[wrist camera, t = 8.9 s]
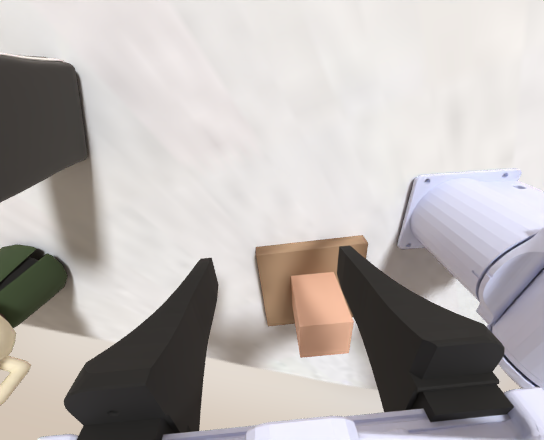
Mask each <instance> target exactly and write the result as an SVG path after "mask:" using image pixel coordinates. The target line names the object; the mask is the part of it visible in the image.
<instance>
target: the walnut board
mask: <svg viewBox="0 0 544 440" xmlns="http://www.w3.org/2000/svg"><path fill="white" fill-rule="evenodd" d="M349 245H350V246H351V247H352V248H354V249H355V250H356V251H357V252H358V253H359V254H361V255H362V256H363V257H364V258H365V259H366V255H367V247H368V242H367V241H366V239H365V238H364V237H363V235H361V236H352V237H343V238H334V239H325V240H316V241H307V242H298V243H289V244H280V245H271V246H262V247H256V258H257V264H258V270H259V276H260V282H261V288H262V294H263V300H264V306H265V312H266V318H267V324H268V326H276V325H285V324H294V323H295V320H294V313H293V307H292V288H291V276H295V275H305V274H316V273H327V272H334V274H335V276H336V279H337V281H338V284H339V286H340V283H339V280H338V276H337V265H338V254H339V246H349ZM340 289H341V286H340ZM341 291H342V290H341ZM342 294H343V292H342ZM343 296H344V294H343ZM344 299H345V296H344ZM345 301H346V299H345ZM346 304H347V306H348V309H349V311H350V314H351V316H352V317H353V314H352V312H351V310H350V308H349V305H348V303H347V301H346Z"/></svg>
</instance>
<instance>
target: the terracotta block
mask: <svg viewBox="0 0 544 440" xmlns="http://www.w3.org/2000/svg"><path fill="white" fill-rule="evenodd" d="M291 288H292V307H293V313H294V320H295V326H296V333H297V339H298V345H299V352H300V358H302V357H312V356H323V355H333V354H344V353H349V348H350V342H351V335H352V329H353V323H354V321H353V319H352V316H351V314H350V311H349V309H348V306H347V304H346V301H345V299H344V296H343V294H342V291H341V289H340V286H339V284H338V281H337V279H336V276H335V274H334V272H327V273H316V274H305V275H295V276H291Z"/></svg>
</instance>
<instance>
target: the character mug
mask: <svg viewBox="0 0 544 440" xmlns="http://www.w3.org/2000/svg"><path fill="white" fill-rule="evenodd" d="M35 250H36V248H34V247H31V246H24V245H12V246H7V247H2V248H1V249H0V369H1V370H4V371H8V372H10V374H9V375H8V376H7V377H6V379H5V380H4V381H3V382H2V384H1V385H0V406H1V405H2V404H3V403H4V402H5V401H6V400H7V399H8V398H9V396H10V395H11V394H12V392H13V391H14V390H15V389H16V387H17V386H18V385H19V383H20V382H21V381H22V379H23V378H24V377H25V375H26V374H27V373H28V372H29V369H30V367H31V364H29V363H28V362H27V361H25V360H21V359H18V358H15V357H11V356H8V355H9V354H10V353H11V352H12V349H13V346H14V343H15V337H16V332H15V331H14V329H13V328H14V327H16V326H18V325H19V324H20V323H22V322H23V321H24V320H25V319H27V318H28V317H29V316H30V315H31V314H33V313H34V312H35V311H36V310H37V309H39V308H40V307H41V306H42V305H44V304H45V303H46V302H47V301H49V300H50V299H51V298H52V297H53V296H54V295H55V294H57V293H58V292H59V291H60V290H61V289H62V288H63V287H64V286H65V283H66V279H67V276H68V275H67V273H66V271H65V269H64V267H63V265H62V264H61V263H60V262H59V261H57V260H56V259H55V258H54V257H53V256H52V255H50V254H46V255H45V256H43V257H42V258H41V259H40V260H39V261H38V260H36V259H34V258H30V257H28V256H29V255H30V254H32V253H33V252H34V251H35Z"/></svg>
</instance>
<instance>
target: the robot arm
mask: <svg viewBox="0 0 544 440" xmlns="http://www.w3.org/2000/svg"><path fill="white" fill-rule="evenodd" d="M503 174H504V175H503ZM502 175H503V176H502ZM520 175H521V170H519V169H516V168H513V169H499V170H485V171H471V172H457V173H443V174H430V175H419V176H417V177H416V178H415V180H414V183H413V187H412V191H411V194H410V198H409V202H408V206H407V210H406V213H405V217H404V221H403V225H402V229H401V233H400V236H399V240H398V244H397V245H398V247H399V248H400V249H411V248H424V247H426V248H427V249H428V250H429V251H430V252H431V253H432V254H433V255H434V256H435V257H436V258H437V259H438V260H439V261H440V262H441V263H442V264H443V266H444V267H445V268H446V269H447V270H448V271H449V272H450V273H451V274H452V275H453V276H454V277H455V278H456V279H457V280H458V281H459V282H460V283H461V284H462V285H463V286H464V287H465V288H466V289H467V290H468V291H469V292H470V293H471V294H472V295H473V296H474V297H475V298H476V299H477V300H478V301H479V302H480V304H479V307H478V308H477V310H476V312H477V313H478V314H479V315H480V316H481V317H482V318H483V319H484V320H485V321H486V322H487V323H488V326H487V327H486V326H485V325H484V324H482V323H479V322H477V321H474V320H471V319H469V318H466V317H464V316H461V315H459V314H456V313H454V312H452V311H449V310H447V309H445V308H443V307H440V306H438V305H436V304H434V303H432V302H430V301H428V300H426V299H424V298H423V297H421V296H419V295H417V294H415V293H413V292H412V291H410V290H408V289H407V288H405V287H403V286H402V285H400V284H399V283H397V282H396V281H394V280H393V279H391V278H390V277H388V276H387V275H386V274H384V273H383V272H382V271H380V270H379V269H378V268H376V267H375V266H374V265H373V264H371V263H370V262H369V261H368V260H366V259H365V258H364V257H363V256H362V255H361V254H359V253H358V252H357V251H356V250H355V249H354V248H352V247H351V246H350V245H349V246H339V254H338V265H337V276H338V280H339V283H340V286H341V290H342V292H343V294H344V296H345V299H346V301H347V303H348V305H349V308H350V310H351V312H352V314H353V317H354V319H355V321H356V323H357V326H358V328H359V331H360V333H361V336H362V339H363V342H364V345H365V348H366V351H367V354H368V357H369V361H370V364H371V367H372V370H373V374H374V377H375V381H376V384H377V387H378V391H379V394H380V398H381V402H382V406H383V409H384V413H374V414H364V415H354V416H344V417H343V416H326V417H316V418H306V419H296V420H287V421H276V422H268V423H264V424H259V425H255V426H245V427H235V428H225V429H216V430H205V431H199V425H200V410H201V397H202V387H203V376H204V367H205V359H206V351H207V344H208V339H209V334H210V330H211V325H212V321H213V316H214V312H215V307H216V302H217V293H218V281H217V278H216V274H215V270H214V266H213V262H212V258H204V259H200V260H199V261H198V263H197V264H196V265H195V267H194V268H193V269H192V271H191V272H190V273H189V275H188V276H187V277H186V278H185V280H184V281H183V282H182V283H181V285H180V286H179V287H178V288H177V289H176V290H175V292H174V293H173V294H172V295H171V296H170V297H169V298H168V299H167V301H166V302H165V303H164V304H163V305H162V306H161V307H160V308H159V309H158V310H156V311H155V312H154V313H153V314H152V315H151V316H150V317H149V318H148V319H146V320H145V321H144V322H143V323H142V324H140V325H139V326H138V327H137V328H136V329H134V330H133V331H132V332H131V333H129V334H128V335H127V336H125V337H124V338H123V339H121V340H120V341H118V342H117V343H116V344H114V345H113V346H111V347H110V348H108V349H107V350H105V351H104V352H102V353H101V354H99V355H97V356H96V357H95V358H93V359H91V360H90V361H88V362H87V363H86V364H85V365H84V367H83V368H82V370H81V372H80V373H79V375H78V376H77V378H76V380H75V382H74V383H73V385H72V387H71V389H70V390H69V392H68V393H67V396H66V397H65V399H64V405H65V407H66V409H67V410H68V411H69V412H70V413H71V414H72V415H73V416H74V417H75V418H76V419H77V420H78V421H80V422H81V423H82V424H83V425H84V426H83V428H82V430H81V432H80V435H79V436H77V435H74V434H63V435H53V436H45V437H44V436H43V437H40V438H38V439H37V440H544V191H542V190H540V189H537V188H535V187H532V186H530V185H527V184H524V183H522V182H519V181H518V180H519V177H520ZM426 179H428V180H427V181H426V182H425V180H426ZM408 243H409V244H408ZM407 244H408V245H407ZM498 364H499V365H500V367H501V368H502V369H503V370H504V371H505V373H506V374H507V375H508V376H509V377H510V378H511V379H512V380H513V381H514V382H516V384H517V385H519V386H520V387H521V388H522V389H513V390H509V391H506V392H504V393H503V392H502V391H501V389H500V388H499V387H498V386H497V384H499V379H498V378H497V377H496V376H495V374H494V373H493V372H492V371H493V370H494V369H495V367H496V366H497V365H498Z"/></svg>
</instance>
